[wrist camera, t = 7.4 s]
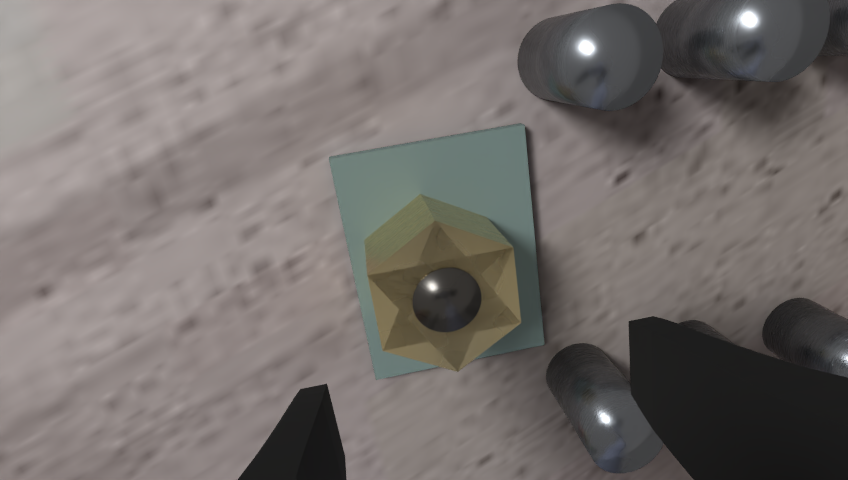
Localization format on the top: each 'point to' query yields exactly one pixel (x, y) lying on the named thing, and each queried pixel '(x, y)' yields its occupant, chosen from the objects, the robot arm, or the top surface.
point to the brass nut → (441, 283)
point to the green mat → (454, 184)
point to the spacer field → (623, 86)
